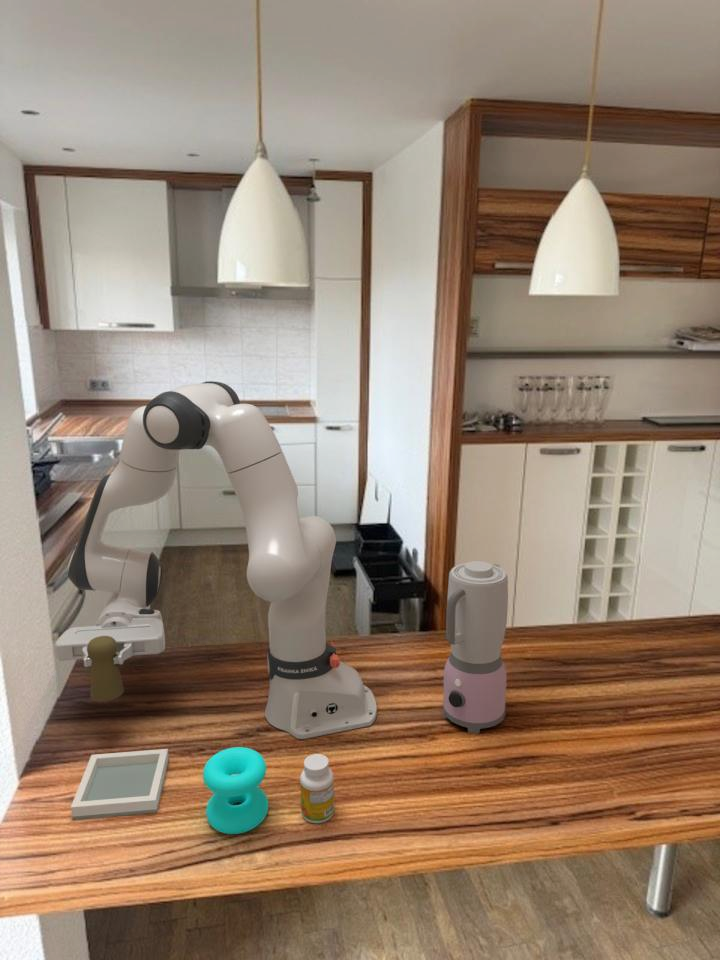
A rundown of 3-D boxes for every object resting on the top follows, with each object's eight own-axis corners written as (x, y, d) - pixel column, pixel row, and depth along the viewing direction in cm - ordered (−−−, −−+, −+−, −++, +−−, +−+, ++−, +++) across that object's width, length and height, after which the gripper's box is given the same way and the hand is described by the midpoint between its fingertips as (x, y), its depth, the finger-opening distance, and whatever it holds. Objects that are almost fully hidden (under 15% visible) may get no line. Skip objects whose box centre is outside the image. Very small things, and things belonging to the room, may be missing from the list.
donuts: (269, 742, 119) (261, 783, 109) (272, 793, 121) (264, 837, 112) (209, 743, 119) (196, 784, 109) (213, 794, 121) (200, 838, 112)
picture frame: (168, 760, 130) (167, 748, 130) (156, 812, 117) (155, 800, 117) (93, 766, 129) (91, 754, 128) (72, 819, 116) (70, 807, 115)
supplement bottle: (301, 802, 119) (299, 752, 117) (333, 799, 120) (332, 749, 117) (301, 825, 114) (299, 773, 111) (335, 823, 114) (333, 771, 112)
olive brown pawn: (115, 702, 131) (109, 647, 128) (83, 700, 132) (77, 645, 129) (129, 685, 137) (124, 632, 134) (99, 683, 137) (93, 631, 135)
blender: (466, 691, 151) (470, 549, 142) (517, 713, 143) (524, 564, 134) (420, 724, 140) (421, 572, 131) (472, 751, 132) (477, 590, 123)
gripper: (63, 616, 143) (41, 651, 130) (168, 609, 145) (156, 643, 132) (68, 645, 145) (46, 681, 131) (171, 638, 147) (160, 673, 133)
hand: (102, 662), depth 132 cm, fingers closed on olive brown pawn, 4 cm apart
